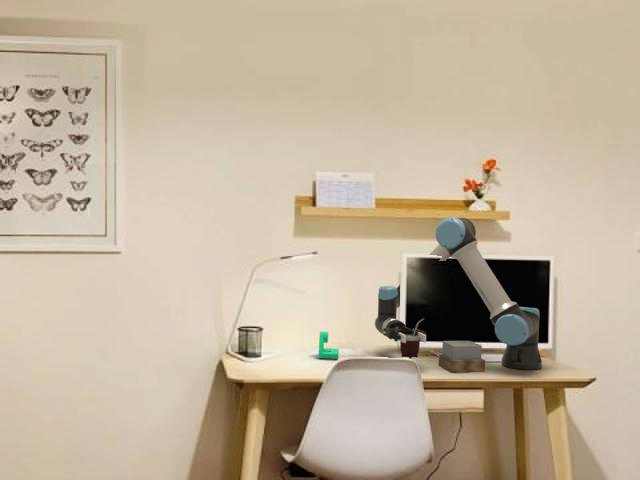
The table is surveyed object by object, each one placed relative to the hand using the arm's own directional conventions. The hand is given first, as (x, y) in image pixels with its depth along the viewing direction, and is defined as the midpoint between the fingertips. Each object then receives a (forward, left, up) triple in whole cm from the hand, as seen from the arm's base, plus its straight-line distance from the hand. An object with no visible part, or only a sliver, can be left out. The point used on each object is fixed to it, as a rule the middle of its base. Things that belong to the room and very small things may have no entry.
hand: (415, 339), depth 281 cm
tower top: (-21, -6, -8) cm, 23 cm away
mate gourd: (0, -5, -8) cm, 9 cm away
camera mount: (+24, -31, -13) cm, 41 cm away
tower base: (-21, -5, -13) cm, 25 cm away
